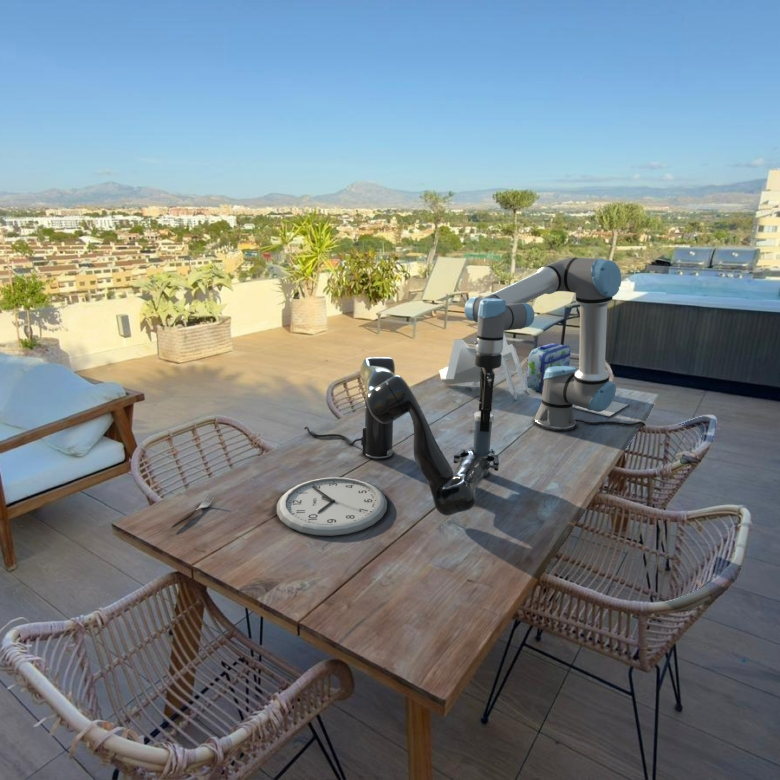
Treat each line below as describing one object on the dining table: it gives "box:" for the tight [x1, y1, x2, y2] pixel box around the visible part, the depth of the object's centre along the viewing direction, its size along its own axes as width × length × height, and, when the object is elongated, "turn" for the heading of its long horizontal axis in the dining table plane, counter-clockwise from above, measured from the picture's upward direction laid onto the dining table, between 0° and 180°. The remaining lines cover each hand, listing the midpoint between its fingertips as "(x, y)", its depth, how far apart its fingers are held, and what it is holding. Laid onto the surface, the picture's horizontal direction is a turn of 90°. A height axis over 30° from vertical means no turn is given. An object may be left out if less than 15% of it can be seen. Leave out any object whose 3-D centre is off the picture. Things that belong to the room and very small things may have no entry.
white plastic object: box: [438, 333, 531, 400], centre depth 245 cm, size 37×45×31 cm
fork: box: [171, 493, 217, 529], centre depth 137 cm, size 3×16×2 cm, turn 160°
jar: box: [472, 419, 493, 477], centre depth 160 cm, size 5×5×19 cm
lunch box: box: [525, 343, 571, 393], centre depth 249 cm, size 26×11×21 cm, turn 134°
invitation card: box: [573, 400, 629, 418], centre depth 226 cm, size 21×1×15 cm
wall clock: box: [276, 476, 388, 537], centre depth 142 cm, size 30×2×30 cm
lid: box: [473, 410, 494, 422], centre depth 158 cm, size 6×6×2 cm
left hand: (482, 450), depth 164 cm, fingers closed on jar, 5 cm apart
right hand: (483, 427), depth 159 cm, fingers closed on lid, 6 cm apart
